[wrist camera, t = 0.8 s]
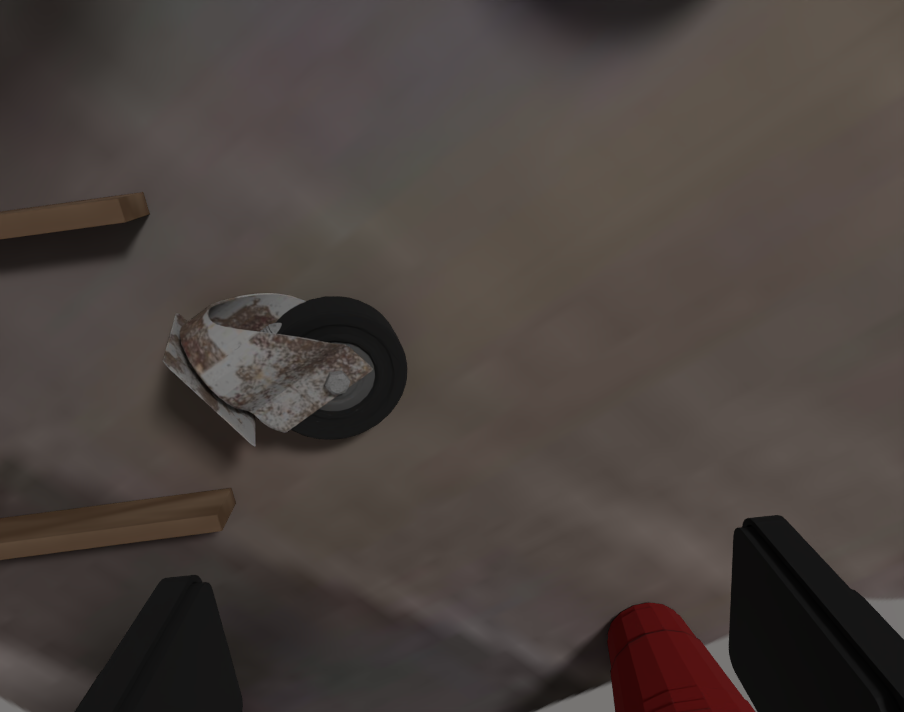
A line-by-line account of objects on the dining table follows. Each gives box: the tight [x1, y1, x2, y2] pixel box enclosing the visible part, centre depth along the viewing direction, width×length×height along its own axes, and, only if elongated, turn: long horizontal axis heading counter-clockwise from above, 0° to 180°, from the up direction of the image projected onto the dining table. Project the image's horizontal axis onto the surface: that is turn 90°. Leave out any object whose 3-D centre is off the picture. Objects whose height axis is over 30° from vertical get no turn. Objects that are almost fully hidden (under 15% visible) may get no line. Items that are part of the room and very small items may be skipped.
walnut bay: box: [0, 192, 236, 560], centre depth 37 cm, size 20×17×3 cm
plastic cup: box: [607, 603, 755, 712], centre depth 41 cm, size 11×11×12 cm
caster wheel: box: [163, 293, 407, 447], centre depth 35 cm, size 7×11×10 cm
